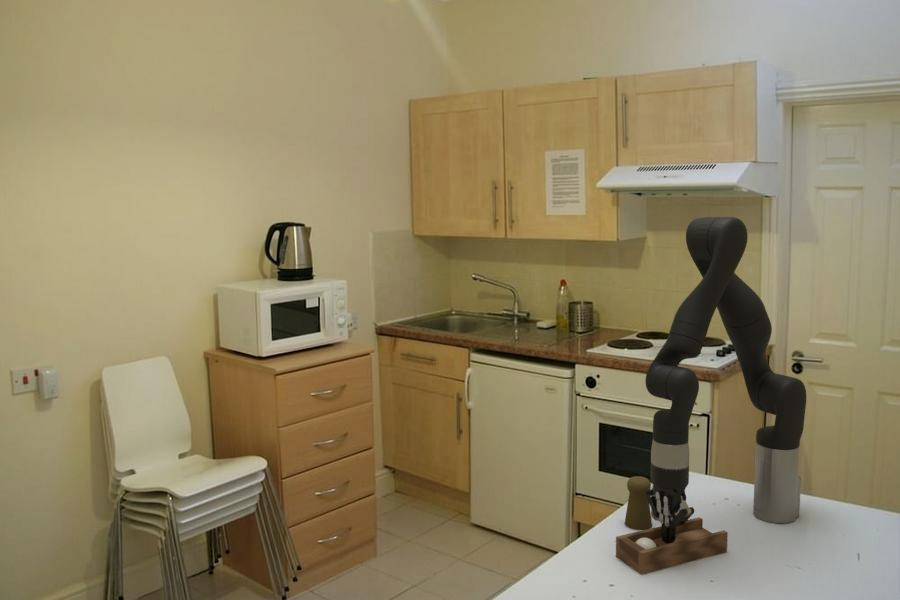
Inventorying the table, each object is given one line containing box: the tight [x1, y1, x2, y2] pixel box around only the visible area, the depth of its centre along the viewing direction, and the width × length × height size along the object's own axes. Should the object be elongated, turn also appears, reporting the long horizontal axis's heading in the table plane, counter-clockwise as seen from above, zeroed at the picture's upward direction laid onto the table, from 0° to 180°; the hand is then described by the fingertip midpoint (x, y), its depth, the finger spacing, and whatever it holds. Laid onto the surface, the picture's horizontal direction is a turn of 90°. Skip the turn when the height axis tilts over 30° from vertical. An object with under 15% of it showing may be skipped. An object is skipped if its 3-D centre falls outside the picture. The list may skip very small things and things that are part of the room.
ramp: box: [615, 517, 729, 575], centre depth 163 cm, size 22×8×4 cm, turn 114°
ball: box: [635, 538, 657, 549], centre depth 161 cm, size 5×5×5 cm
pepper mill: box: [624, 475, 653, 531], centre depth 178 cm, size 6×6×11 cm
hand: (668, 541), depth 163 cm, fingers closed
